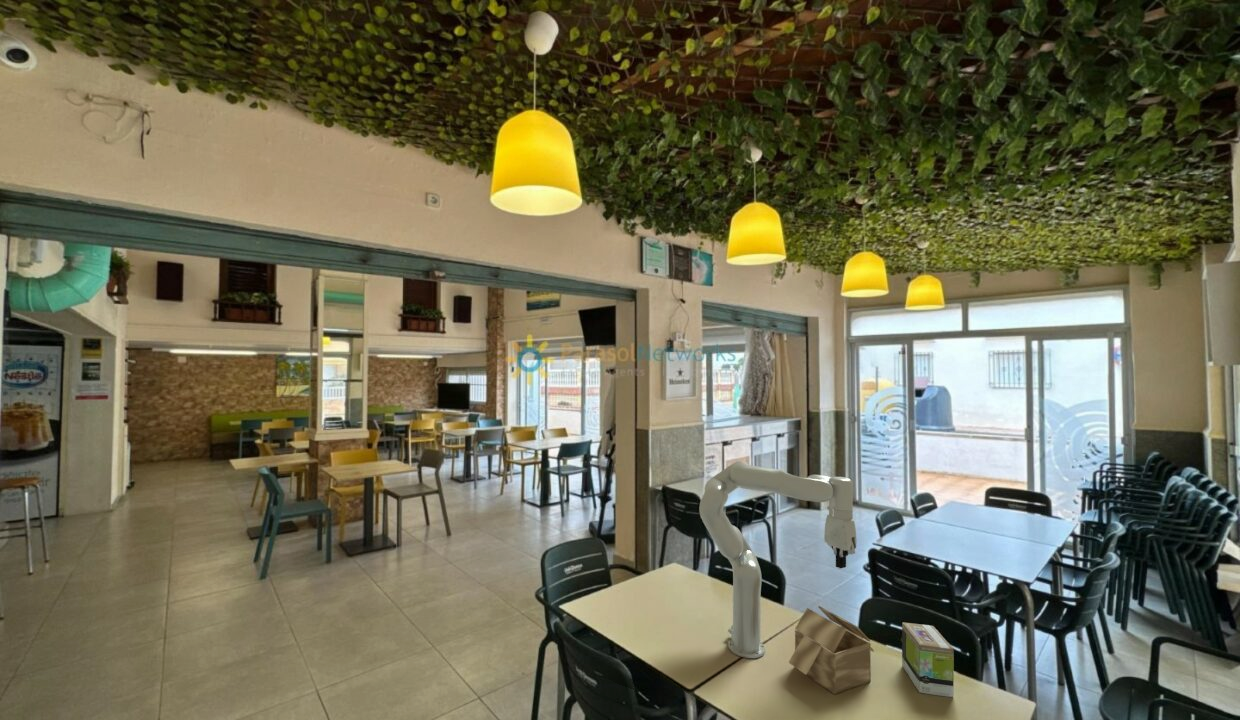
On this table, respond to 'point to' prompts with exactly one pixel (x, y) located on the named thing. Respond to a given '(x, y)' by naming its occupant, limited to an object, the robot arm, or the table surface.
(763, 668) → the table surface
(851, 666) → the carton
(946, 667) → the tea box
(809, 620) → the near flap
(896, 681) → the table surface
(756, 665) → the table surface
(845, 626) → the far flap
